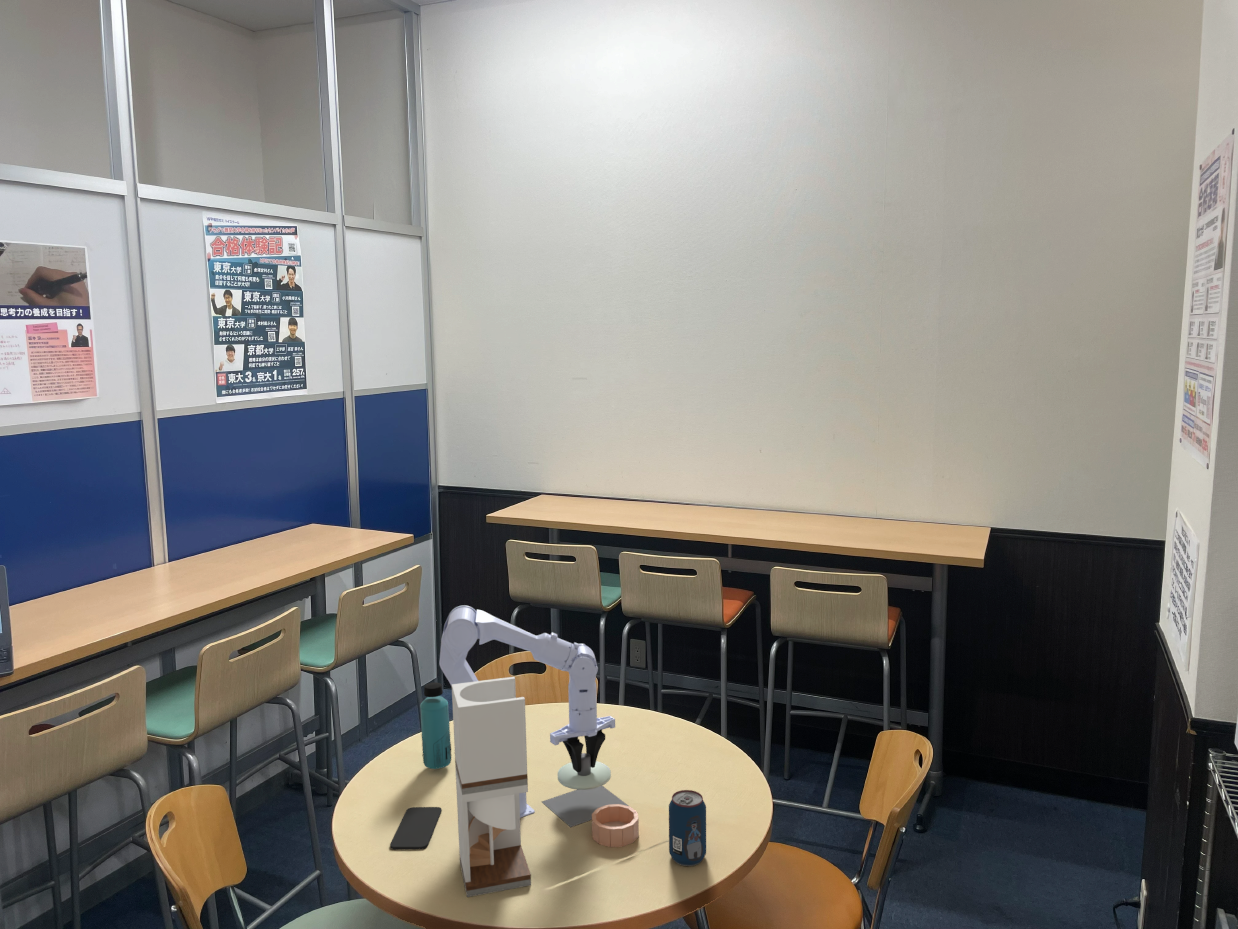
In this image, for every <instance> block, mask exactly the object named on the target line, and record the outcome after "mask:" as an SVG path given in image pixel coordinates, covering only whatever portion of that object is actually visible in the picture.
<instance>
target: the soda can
mask: <svg viewBox="0 0 1238 929" xmlns="http://www.w3.org/2000/svg"><path fill="white" fill-rule="evenodd" d="M706 805H707V804H706V803H705V801H704V797H703V795H702V794H701V793H700V792H698V791H695V790H693V789H692V790H691V789H683V790H677V791H676V792H675V793H673V794H672V796H671V800H670V801H669V804H668V852H669V855H670V856H671V858H672V860H673V862H675V863H676V864H677V865H680V866H684V867H694V866H696V865H697V866H698V865H699V864H701V863H702V861H703V860H704V858H705V856H706V855H707V806H706Z"/></svg>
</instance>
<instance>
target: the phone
mask: <svg viewBox="0 0 1238 929" xmlns="http://www.w3.org/2000/svg"><path fill="white" fill-rule="evenodd" d="M442 810H443V809H442V808H441V807H439V806H413V807H412V806H411V807H408V808H407V809H406V810H405V812H404V814H403V816H402V818H401V820H400V822H399V825H398V827H397V829H396V831H395V833H394V835H393V838H392V840H391V842H390V843H389V848H390V849H391V850H394V851H395V850H398V851H399V850H401V851H402V850H405V851H406V850H410V851H411V850H415V851H416V850H425V849H427V848H428V847H429V844H430V842H431V841H432V840H431V839H432V837H433V835H434V832H435V830H436V827H437V825H438V822H439V819H440V817H441V814H442Z"/></svg>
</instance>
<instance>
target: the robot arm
mask: <svg viewBox="0 0 1238 929" xmlns="http://www.w3.org/2000/svg"><path fill="white" fill-rule="evenodd" d="M442 630H443V631H442V636H441V639H440V640H441V641H440V642H441V643H440V650H439V651H440V653H439V663H438V664H439V667H440V669H441V671H442V672H443V674H444V676H445V678H446V680H448V682H449V684H450V686H451V687H452V684H459V683H467V682H475V681H479V680H478V677H477V676H476V674H475V673H474V671H473V670H472V668H471V666H470V664H469V663H468V661H467V656H468V654H469V651H470V650H471V649H472V648H473V647H474V645H475V644H476V642H477V640H478V641H479V642H478V643H479V644H478V645H483V644H485V643H488V642H490V641H493V640H495V641H498V642H501V643H504V644H507V645H509V646H512V647H516V648H519V649H522V650H525V651H528V652H530V653H531V654H532V658H533V659H534V661H537V662H539V663H542V664H545V665H547V666H550V667H552V668H555V669H557V670H560V671H562V672H568V674H569V676H568V678H569V682H568V684H567V685H568V686H567V687H568V688H567V690H568V724H566V725H564V726H563V727H561V728H559V729H557V730H555V731H553V732H550V733H549V742H550V743H551V745H554V746H557V745H560V743H563V745H564V747H565V749H566V750H567V752H568V755H569V758H570V761H571V762H572V766H573V769H574V770H575V771H576V772H581V755H582V753H583V749H584V743H582V742H581V741H580V739H579V738H580V737H584V741H585V751H586V752H585V753H587V754H590V756H591V767H592V768H594V767H595V764H596V761H598V760H597V759H598V756H599V752H600V749H601V748H602V745H603V744H604V742H605V740H606V733H604V732H603V731H604V730H606V729H615V728H616V718H614V717H613V716H611V715H607V716H602V717H598V714H597V713H598V710H597V708H598V706H597V705H598V704H597V702H598V701H597V700H598V699H597V697H598V696H597V682H596V680H597V677H596V676H597V673H598V670H599V667H598V664H597V659H596V656H595V652H594V651H593V650H592V648H591V647H589V646H588V645H586V644H585V643H577V642H575V641H574V642H573V643H572V642H569V641H567V640H564V639H561V638H559V637H558V633H555V632H553V631H552V632H551V633H550V634H549V633H547V632H543V633H541V634H538V635H535V634H533V633H531V632H528V631H526V630H524V629H522V628H521V627H518V626H517V625H513V624H511V623H509V622H507V621H505V620H502V619H500V618H499V617H497V616H494V615H492V614H491V613H488V612H486V611H484V610H481V609H475V608H474V607H472V606H469V605H465V604H464V605H459V606H455V607H454V608H453V609H452V610H451V611H450V612H449V613H448V616H447V618H446V621H445V623H444V625H443V629H442ZM527 801H528V800H527V792H525V793H519V803H520V819H522V818H523V817H526V816H529V815H533V814H534V813H535V812H536V811H535V809H534V808H532V806H531V805H529V804H528V803H527Z"/></svg>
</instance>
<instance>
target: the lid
mask: <svg viewBox="0 0 1238 929" xmlns="http://www.w3.org/2000/svg"><path fill="white" fill-rule="evenodd" d="M611 775H612V772H611V768H610V767H609V766H608V765H607V764H605V763H603V762H601V761H598V760H596V764H595V767H594V768H592V767H591V756H590V754H587V753H586V752H584V753H583V752H582V755H581V772H576V771H575V770H574V769H573V766H572V762H568V763H566V764H564V765H562V766H561V767H560V768H559V769H558V771H557V780H558V781H557V782H559V784H561V785H562V786H563V787H565V788H569V789H570V790H571V789H572V790H588V789H594V788H598V787H600V786H604V785H606V784H608V782H609V781H610V780H611V777H612V776H611Z"/></svg>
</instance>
